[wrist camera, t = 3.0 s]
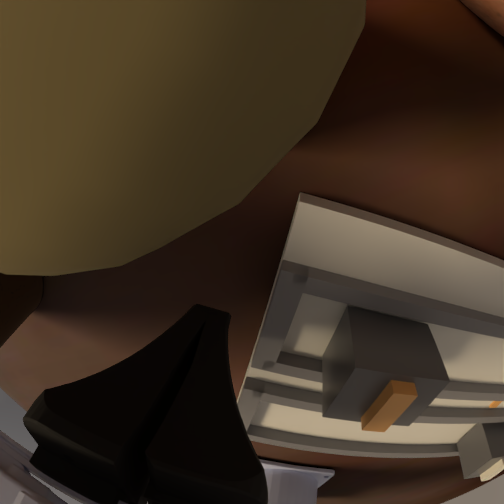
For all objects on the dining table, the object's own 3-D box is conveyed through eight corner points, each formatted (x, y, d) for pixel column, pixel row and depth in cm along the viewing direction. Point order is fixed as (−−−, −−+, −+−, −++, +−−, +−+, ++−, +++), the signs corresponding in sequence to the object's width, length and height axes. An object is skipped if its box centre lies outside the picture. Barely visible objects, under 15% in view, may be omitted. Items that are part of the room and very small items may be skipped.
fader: (488, 440, 16) (498, 478, 12) (456, 442, 16) (465, 485, 13) (511, 418, 15) (524, 458, 11) (480, 420, 15) (493, 465, 11)
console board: (498, 440, 18) (503, 456, 16) (230, 420, 19) (224, 443, 18) (605, 308, 11) (617, 323, 9) (299, 191, 12) (299, 208, 10)
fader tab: (397, 369, 13) (411, 437, 10) (322, 355, 13) (322, 429, 10) (427, 323, 12) (454, 393, 8) (347, 305, 12) (357, 381, 9)
